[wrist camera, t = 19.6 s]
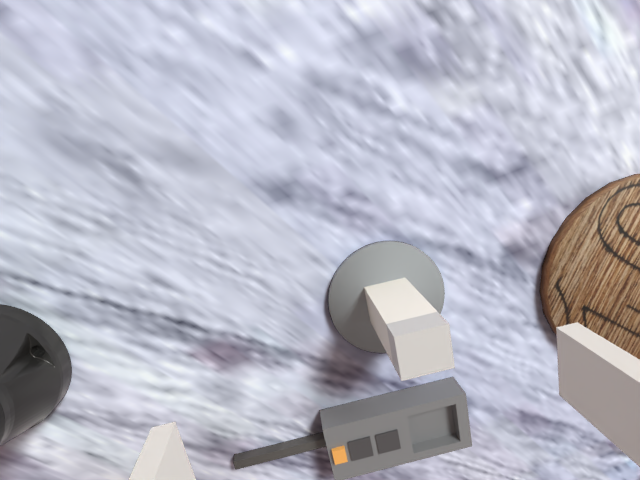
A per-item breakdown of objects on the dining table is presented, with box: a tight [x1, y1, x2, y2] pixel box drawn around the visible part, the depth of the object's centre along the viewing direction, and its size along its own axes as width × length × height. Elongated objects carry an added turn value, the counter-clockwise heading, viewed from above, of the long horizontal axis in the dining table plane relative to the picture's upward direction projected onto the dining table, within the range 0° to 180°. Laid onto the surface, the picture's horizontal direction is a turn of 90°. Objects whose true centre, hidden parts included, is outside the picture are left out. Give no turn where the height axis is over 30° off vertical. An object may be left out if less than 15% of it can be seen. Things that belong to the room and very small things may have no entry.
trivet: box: [540, 174, 640, 360], centre depth 49 cm, size 25×25×2 cm
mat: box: [328, 241, 445, 353], centre depth 46 cm, size 14×14×1 cm
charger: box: [364, 278, 455, 381], centre depth 40 cm, size 5×4×12 cm
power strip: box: [233, 377, 472, 480], centre depth 49 cm, size 30×8×4 cm, turn 102°
